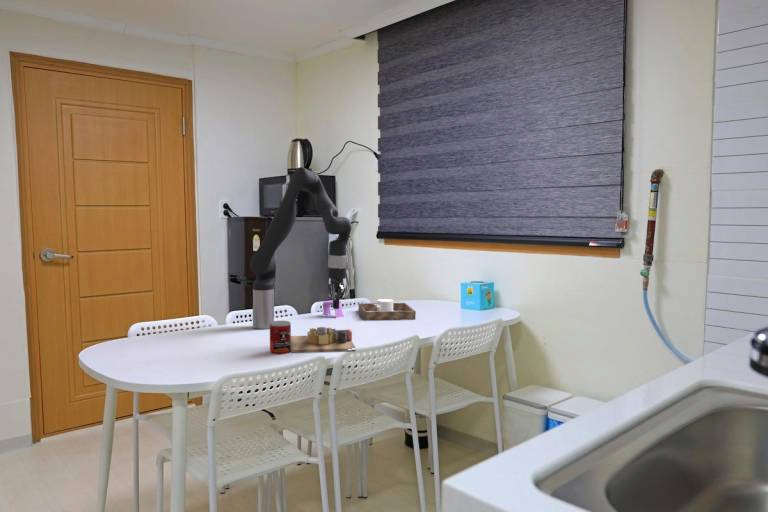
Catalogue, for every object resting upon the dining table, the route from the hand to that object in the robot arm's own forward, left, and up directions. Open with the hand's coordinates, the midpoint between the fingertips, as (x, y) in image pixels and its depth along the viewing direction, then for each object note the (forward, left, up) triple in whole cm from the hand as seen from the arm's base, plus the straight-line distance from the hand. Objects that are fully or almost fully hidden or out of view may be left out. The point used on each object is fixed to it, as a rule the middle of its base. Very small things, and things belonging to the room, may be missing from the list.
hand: (335, 308), depth 235 cm
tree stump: (+30, +53, -14) cm, 62 cm away
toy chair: (+3, +53, -13) cm, 55 cm away
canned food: (-22, -17, -13) cm, 31 cm away
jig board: (-6, -7, -13) cm, 16 cm away
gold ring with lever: (-3, -7, -12) cm, 14 cm away
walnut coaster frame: (+30, +54, -13) cm, 63 cm away
